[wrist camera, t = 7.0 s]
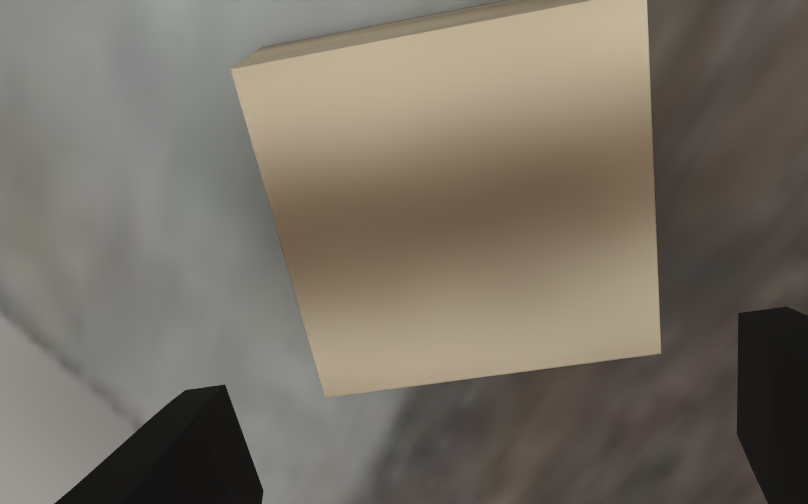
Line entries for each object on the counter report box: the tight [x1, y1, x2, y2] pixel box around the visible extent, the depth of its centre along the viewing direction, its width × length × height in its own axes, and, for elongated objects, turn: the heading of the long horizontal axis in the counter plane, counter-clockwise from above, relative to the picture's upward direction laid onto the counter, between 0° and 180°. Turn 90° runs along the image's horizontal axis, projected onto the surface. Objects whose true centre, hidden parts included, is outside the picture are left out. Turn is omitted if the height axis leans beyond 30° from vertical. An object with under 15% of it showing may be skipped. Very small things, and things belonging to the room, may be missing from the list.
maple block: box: [230, 0, 661, 398], centre depth 18 cm, size 9×9×3 cm
